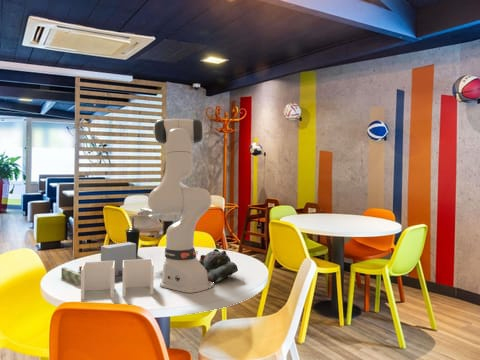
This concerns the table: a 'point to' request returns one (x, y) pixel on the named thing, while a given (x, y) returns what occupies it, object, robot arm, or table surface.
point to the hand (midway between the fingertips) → (144, 215)
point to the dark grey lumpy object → (218, 265)
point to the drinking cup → (133, 235)
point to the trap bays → (117, 277)
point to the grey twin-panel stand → (104, 275)
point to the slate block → (118, 254)
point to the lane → (72, 275)
